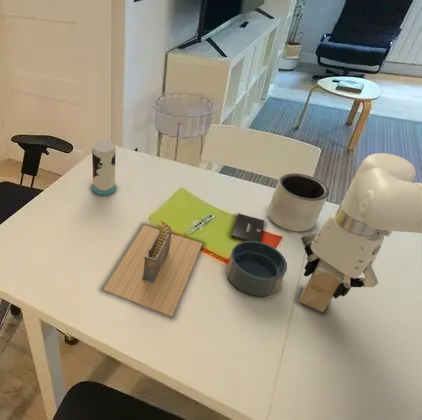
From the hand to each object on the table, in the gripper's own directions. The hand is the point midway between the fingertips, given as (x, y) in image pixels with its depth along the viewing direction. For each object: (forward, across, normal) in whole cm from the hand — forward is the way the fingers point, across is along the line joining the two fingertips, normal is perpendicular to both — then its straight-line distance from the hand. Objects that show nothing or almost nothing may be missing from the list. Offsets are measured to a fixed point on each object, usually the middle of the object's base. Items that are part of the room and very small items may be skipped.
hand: (323, 283), depth 79 cm
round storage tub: (+6, +12, +6) cm, 15 cm away
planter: (+6, +21, -20) cm, 30 cm away
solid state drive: (+6, +24, -6) cm, 26 cm away
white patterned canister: (+6, +61, +17) cm, 64 cm away
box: (+6, 0, 0) cm, 6 cm away
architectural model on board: (+6, +27, +23) cm, 36 cm away
